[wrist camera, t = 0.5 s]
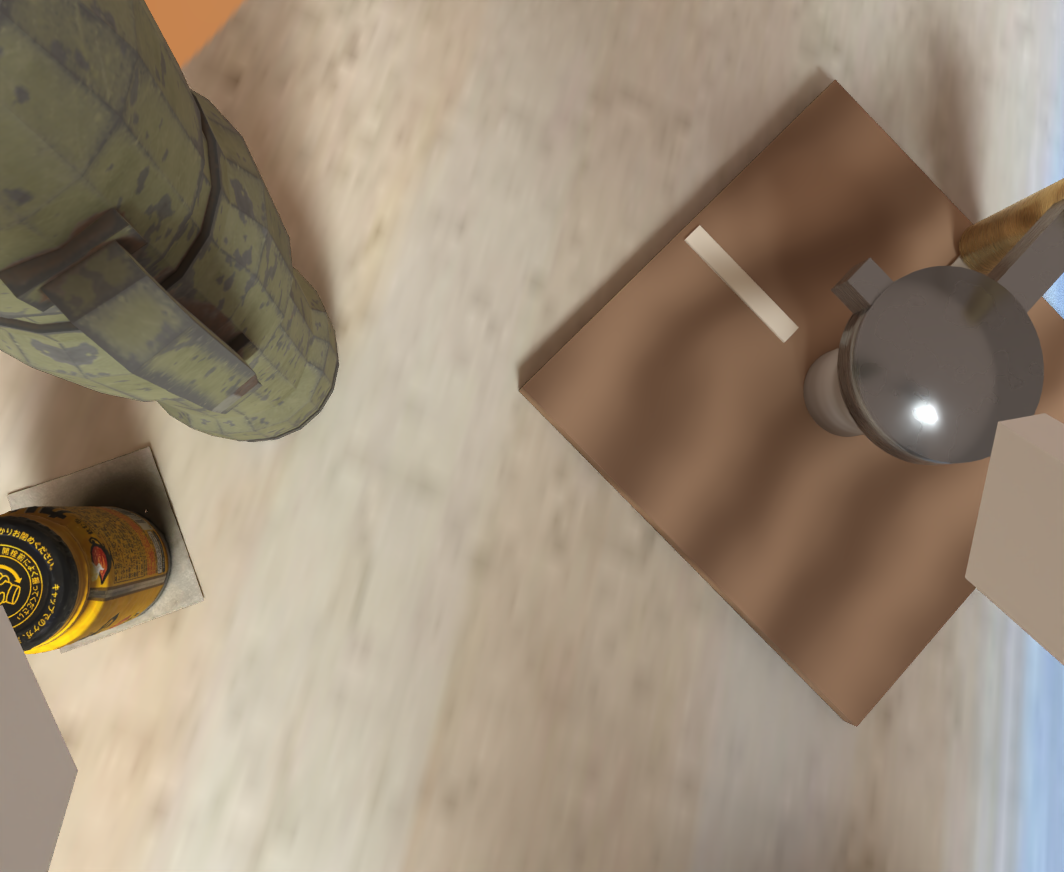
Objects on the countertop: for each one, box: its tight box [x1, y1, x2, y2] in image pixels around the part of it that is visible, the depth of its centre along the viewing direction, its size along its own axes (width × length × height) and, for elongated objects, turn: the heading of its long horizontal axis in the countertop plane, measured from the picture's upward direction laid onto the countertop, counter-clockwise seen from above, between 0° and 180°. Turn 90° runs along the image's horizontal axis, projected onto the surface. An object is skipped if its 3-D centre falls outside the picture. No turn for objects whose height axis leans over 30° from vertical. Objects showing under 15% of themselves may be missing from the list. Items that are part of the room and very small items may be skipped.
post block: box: [519, 80, 1064, 727], centre depth 45 cm, size 26×26×9 cm
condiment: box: [0, 447, 204, 654], centre depth 38 cm, size 7×8×12 cm
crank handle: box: [831, 178, 1064, 465], centre depth 43 cm, size 10×18×11 cm, turn 135°
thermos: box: [0, 0, 339, 442], centre depth 28 cm, size 9×12×35 cm
